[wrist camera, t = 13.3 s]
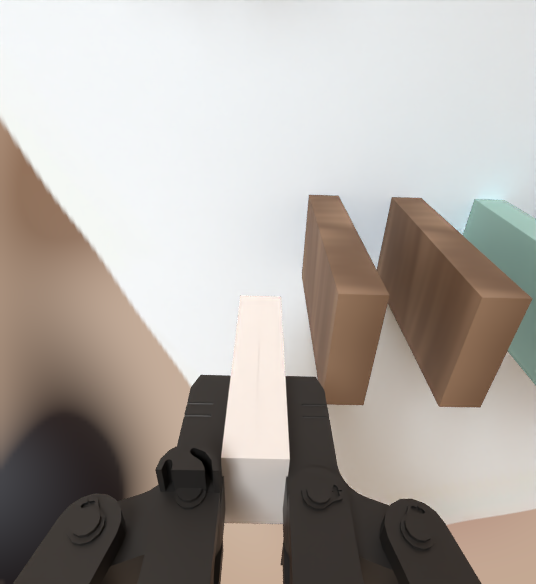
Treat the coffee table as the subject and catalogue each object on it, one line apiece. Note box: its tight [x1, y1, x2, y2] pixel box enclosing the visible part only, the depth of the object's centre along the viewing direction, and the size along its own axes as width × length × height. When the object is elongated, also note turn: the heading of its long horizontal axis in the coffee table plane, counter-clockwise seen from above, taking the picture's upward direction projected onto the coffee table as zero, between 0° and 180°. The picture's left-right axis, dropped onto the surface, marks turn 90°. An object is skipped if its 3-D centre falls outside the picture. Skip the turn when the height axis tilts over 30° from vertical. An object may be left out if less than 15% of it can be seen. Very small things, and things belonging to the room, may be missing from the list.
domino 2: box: [377, 197, 532, 407], centre depth 17 cm, size 2×5×10 cm, turn 178°
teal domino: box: [463, 199, 536, 385], centre depth 17 cm, size 2×5×10 cm, turn 178°
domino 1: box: [302, 195, 389, 405], centre depth 17 cm, size 2×5×10 cm, turn 178°
